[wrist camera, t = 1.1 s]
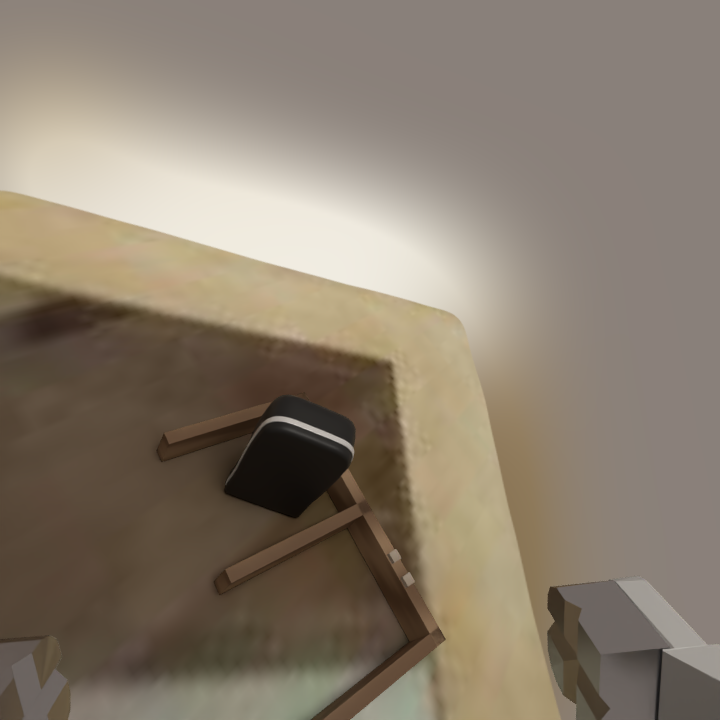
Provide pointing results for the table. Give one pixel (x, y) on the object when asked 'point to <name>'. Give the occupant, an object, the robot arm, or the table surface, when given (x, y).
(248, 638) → the table surface
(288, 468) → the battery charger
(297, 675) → the table surface
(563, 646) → the robot arm
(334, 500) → the dock
